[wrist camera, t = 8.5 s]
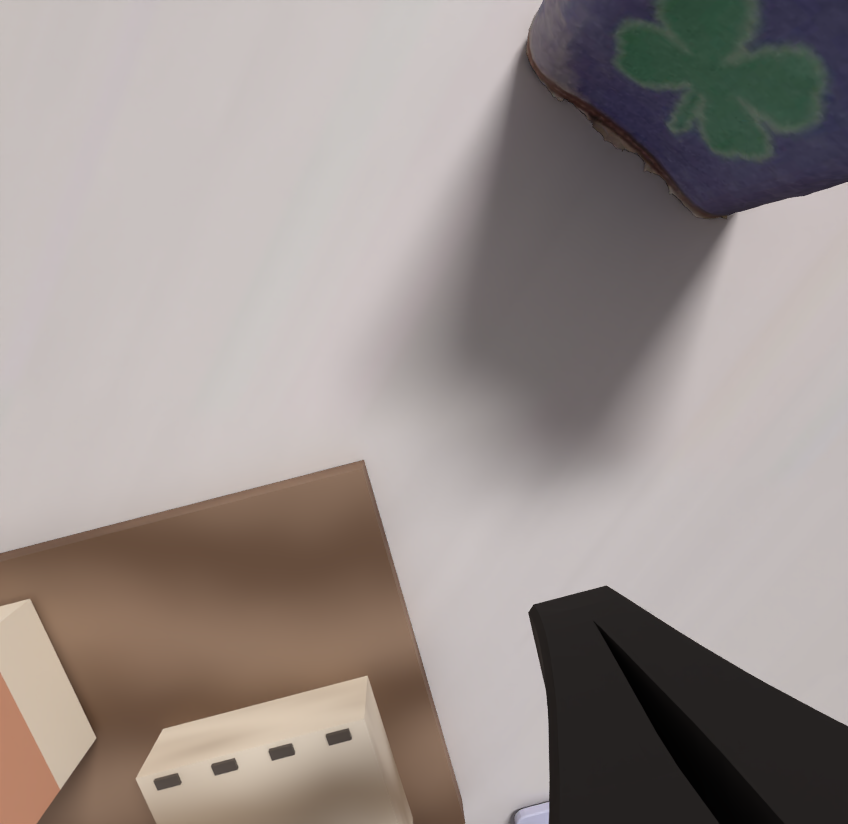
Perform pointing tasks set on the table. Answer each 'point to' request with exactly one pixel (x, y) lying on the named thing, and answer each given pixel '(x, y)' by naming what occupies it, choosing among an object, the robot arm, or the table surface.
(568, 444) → the table surface
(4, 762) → the cream block with bar
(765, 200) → the flask
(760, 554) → the table surface
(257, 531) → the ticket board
